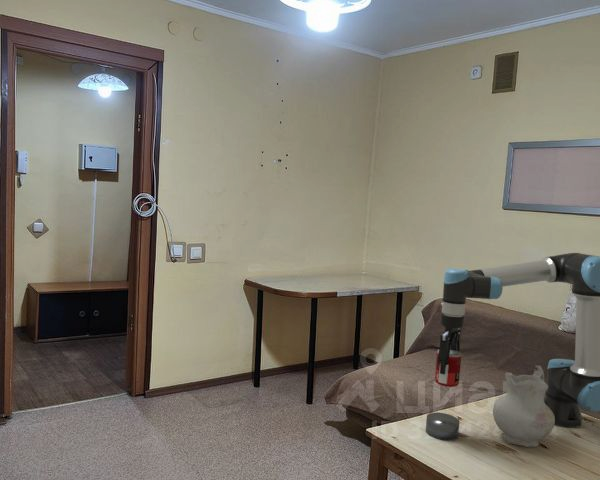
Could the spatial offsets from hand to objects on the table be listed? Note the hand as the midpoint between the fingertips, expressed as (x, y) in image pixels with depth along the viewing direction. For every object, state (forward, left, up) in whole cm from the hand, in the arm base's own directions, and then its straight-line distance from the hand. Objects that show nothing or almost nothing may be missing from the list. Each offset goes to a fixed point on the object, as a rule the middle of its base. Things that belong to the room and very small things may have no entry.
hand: (447, 379), depth 177 cm
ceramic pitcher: (-22, -16, -19) cm, 34 cm away
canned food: (0, 0, -1) cm, 1 cm away
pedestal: (0, 0, -19) cm, 19 cm away
